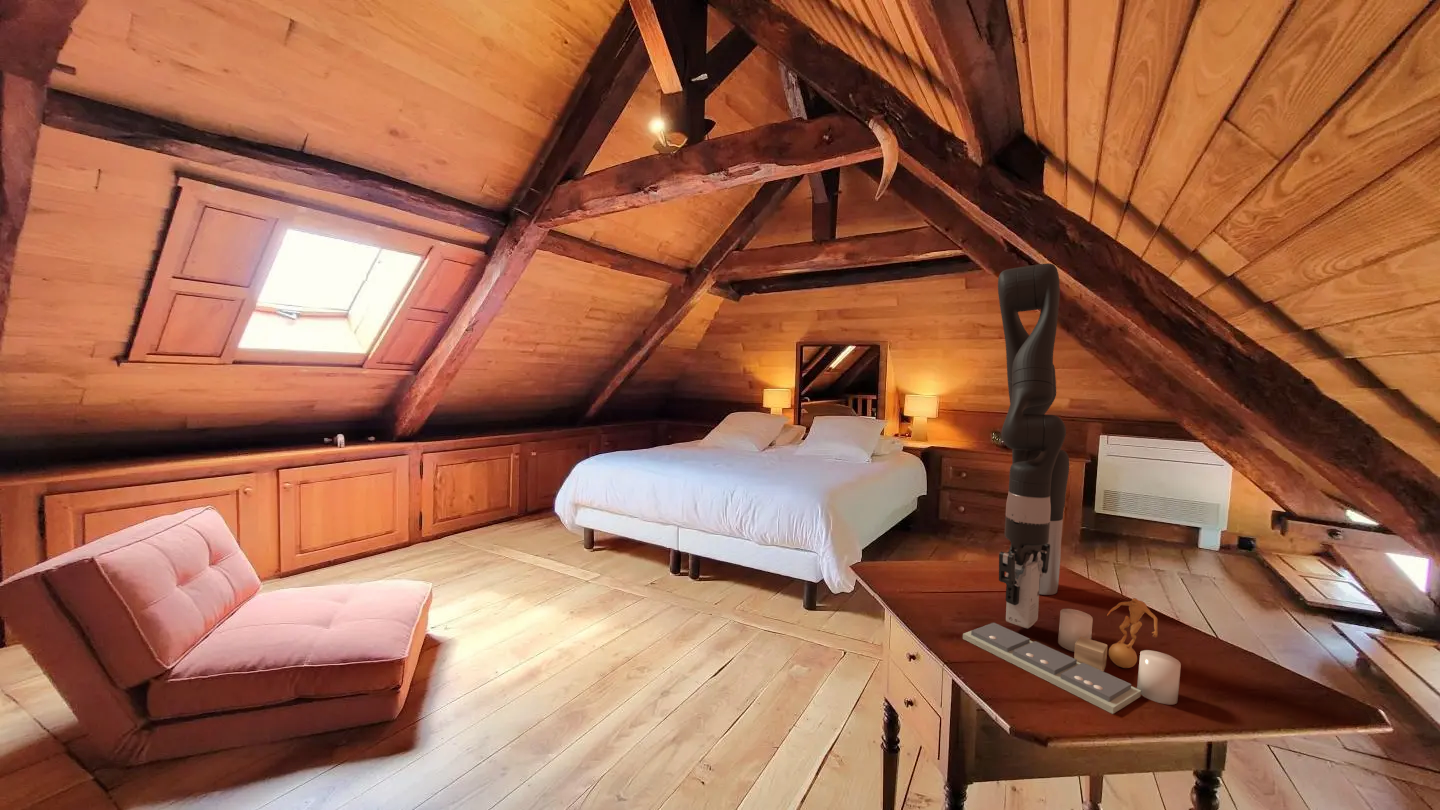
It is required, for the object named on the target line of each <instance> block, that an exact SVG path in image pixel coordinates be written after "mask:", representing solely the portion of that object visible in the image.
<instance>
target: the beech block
mask: <svg viewBox="0 0 1440 810" xmlns="http://www.w3.org/2000/svg"><path fill="white" fill-rule="evenodd" d="M1107 655H1108V644H1106V643H1103V642H1101V641H1097V640H1093V639H1092V638H1091V639H1088V638H1084V637H1081V636H1080V638H1079V639H1078V641H1077V642H1076V643H1075V652H1074V656H1073V657H1074V659H1076V660H1077V662H1079V663H1085V664H1088V665H1090V666H1092V667H1094V668H1096V669H1099V670H1101V671H1103V672H1105V669H1106V667H1107V659H1108V657H1107Z"/></svg>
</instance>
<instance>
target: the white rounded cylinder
mask: <svg viewBox="0 0 1440 810" xmlns="http://www.w3.org/2000/svg"><path fill="white" fill-rule="evenodd" d="M1093 620H1094V619H1093V616H1091V615H1090V614H1089V613H1086V612H1084V611H1081V610H1078V609H1074V608H1073V609H1072V608H1062V609H1061V610H1060V613H1059V624H1058V625H1059V626H1058V638H1057V643H1058V645H1059V646H1060V647H1062V648H1064V649H1065V650H1068V651H1070V652H1075V643H1076V642H1077V641H1078V639H1079V638H1080V636H1081V637H1084V638H1088V639H1091V640H1092V635H1093V634H1092V631H1093V630H1092V629H1093Z"/></svg>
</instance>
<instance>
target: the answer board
mask: <svg viewBox="0 0 1440 810" xmlns="http://www.w3.org/2000/svg"><path fill="white" fill-rule="evenodd" d="M962 639H963V640H964V641H967V642H969V643H970V644H973V645H974V646H977V647H978V648H980V649H982V650H983V651H986V652H988V653H990V654H991V655H992V654H993V655H994V656H996V657H997V658H1000V659H1002V660H1005V662H1008V663H1010V664H1011V665H1012V664H1013V665H1014V666H1016V667H1018V668H1019V669H1023V670H1024V671H1026V672H1028V673H1030V674H1031V675H1035V676H1036V677H1038V678H1040V679H1042V680H1045V681H1047V682H1049V684H1052V685H1054V686H1056V687H1058V688H1060V689H1062V690H1065V691H1066V692H1068V693H1070V694H1072V695H1074V696H1076V697H1078V698H1079V699H1082V700H1084V701H1086V702H1087V703H1090V704H1092V705H1094V706H1096V707H1098V708H1100V709H1102V710H1104V711H1106V712H1108V713H1109V714H1111V715H1114V714H1115V713H1117V712H1118V711H1120V710H1122V709H1123V708H1125V707H1127V706H1128V705H1130V704H1131V703H1133V702H1134V701H1136V700H1137V699H1139V698H1141V696H1142V695H1141V690H1139V689H1137V687H1134V686H1132V683H1130V682H1127V681H1125V680H1123V679H1120V678H1118V677H1116V676H1114V675H1112V674H1110V673H1108V672H1105V671H1101V670H1099V669H1096V668H1094V667H1092V666H1090V665H1088V664H1085V663H1079V662H1077V660H1076V659H1074V658H1073V657H1072V656H1070V655H1067V654H1065V653H1063V652H1060V651H1059V650H1056V649H1054V648H1052V647H1049V646H1047V645H1045V644H1043V643H1041V642H1039V641H1032V640H1030V639H1031V638H1029V637H1027V636H1024V635H1023V634H1020V633H1018V632H1017V631H1013V630H1012V629H1009V628H1007V627H1005V626H1002V625H1001V624H998V623H996V622H990V623H988V624H986V625H984V626H980V627H978V628H975V629H972V630H969V631H967V632H964V633H962Z"/></svg>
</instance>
